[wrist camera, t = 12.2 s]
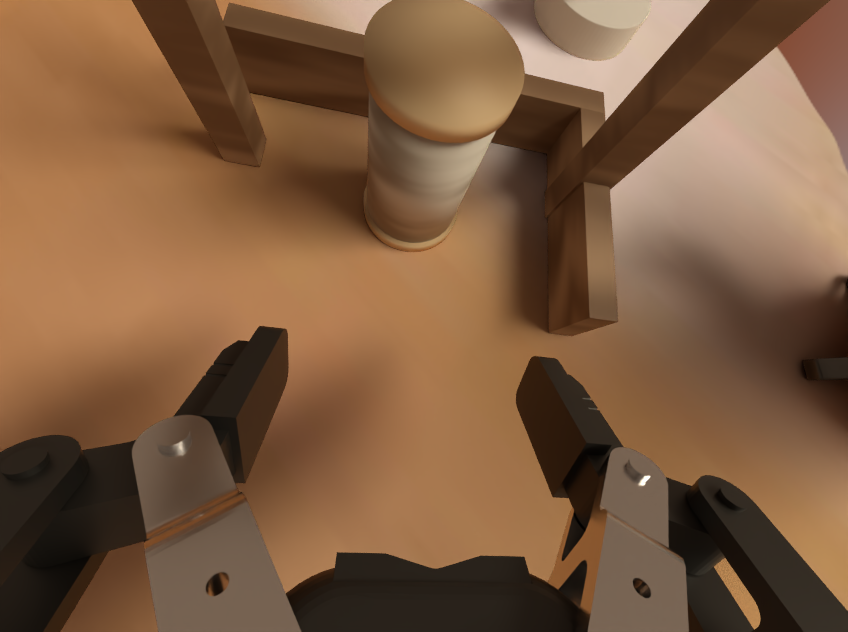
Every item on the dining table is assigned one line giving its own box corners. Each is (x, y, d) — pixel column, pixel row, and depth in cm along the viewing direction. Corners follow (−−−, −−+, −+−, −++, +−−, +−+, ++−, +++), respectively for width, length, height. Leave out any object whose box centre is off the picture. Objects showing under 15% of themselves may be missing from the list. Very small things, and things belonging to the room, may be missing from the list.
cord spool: (345, 193, 21) (330, 20, 12) (421, 156, 23) (463, -23, 13) (397, 268, 20) (428, 151, 11) (471, 224, 22) (554, 89, 13)
